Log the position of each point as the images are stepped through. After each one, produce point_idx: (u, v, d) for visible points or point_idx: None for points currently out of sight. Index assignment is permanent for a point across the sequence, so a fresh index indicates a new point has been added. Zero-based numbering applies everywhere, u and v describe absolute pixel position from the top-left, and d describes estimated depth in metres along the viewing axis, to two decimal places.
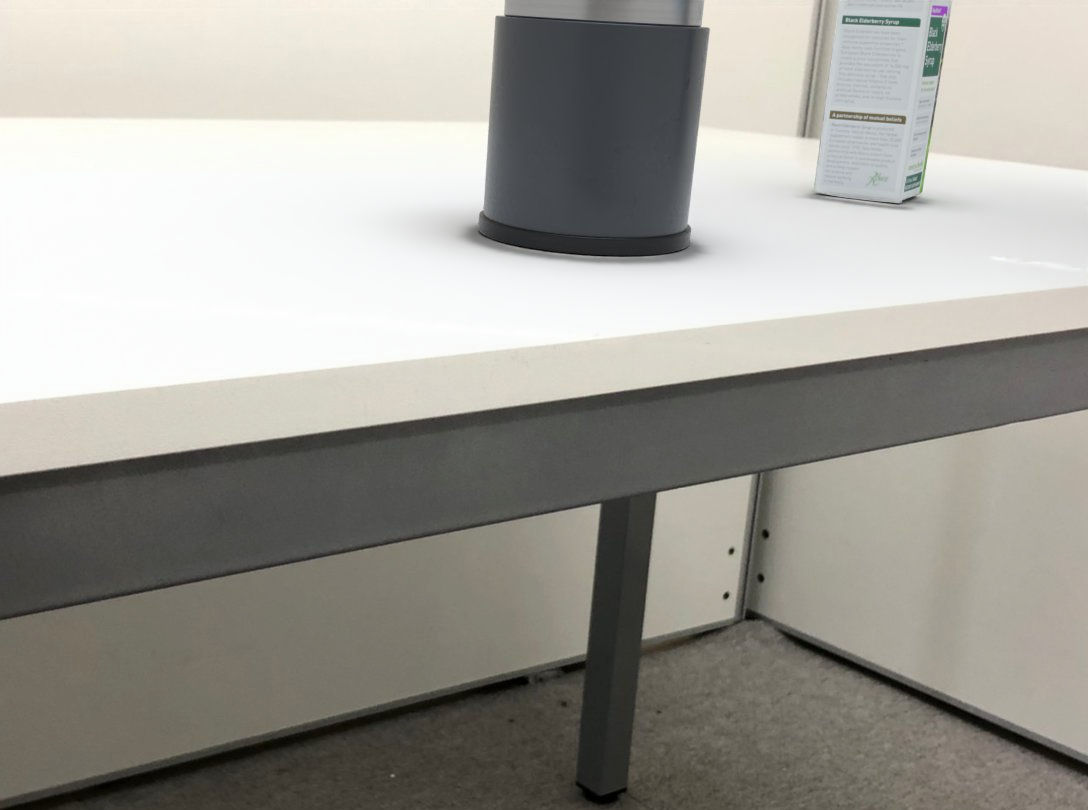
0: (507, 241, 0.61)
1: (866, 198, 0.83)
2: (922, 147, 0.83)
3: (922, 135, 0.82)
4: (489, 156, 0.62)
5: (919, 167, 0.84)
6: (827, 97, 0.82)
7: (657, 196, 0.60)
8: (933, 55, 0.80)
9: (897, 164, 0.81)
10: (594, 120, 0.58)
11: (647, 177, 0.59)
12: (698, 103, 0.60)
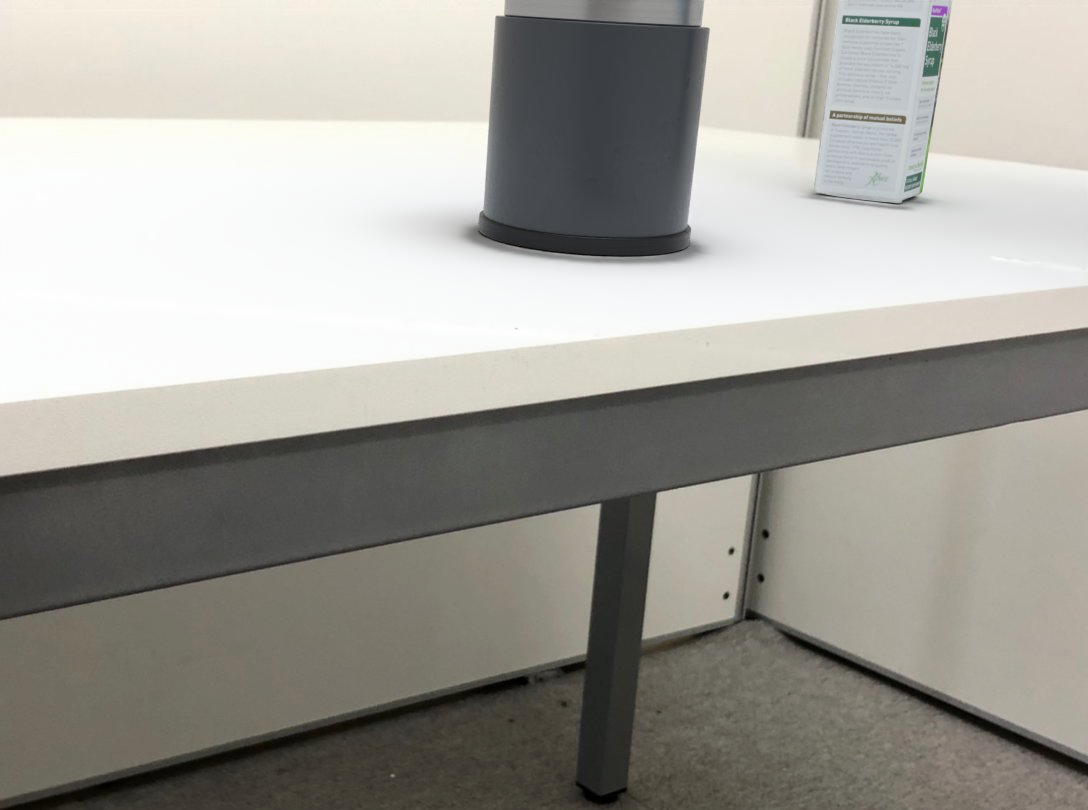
0: (507, 241, 0.61)
1: (866, 198, 0.83)
2: (922, 147, 0.83)
3: (922, 135, 0.82)
4: (489, 156, 0.62)
5: (919, 167, 0.84)
6: (827, 97, 0.82)
7: (657, 196, 0.60)
8: (933, 55, 0.80)
9: (897, 164, 0.81)
10: (594, 120, 0.58)
11: (647, 177, 0.59)
12: (698, 103, 0.60)
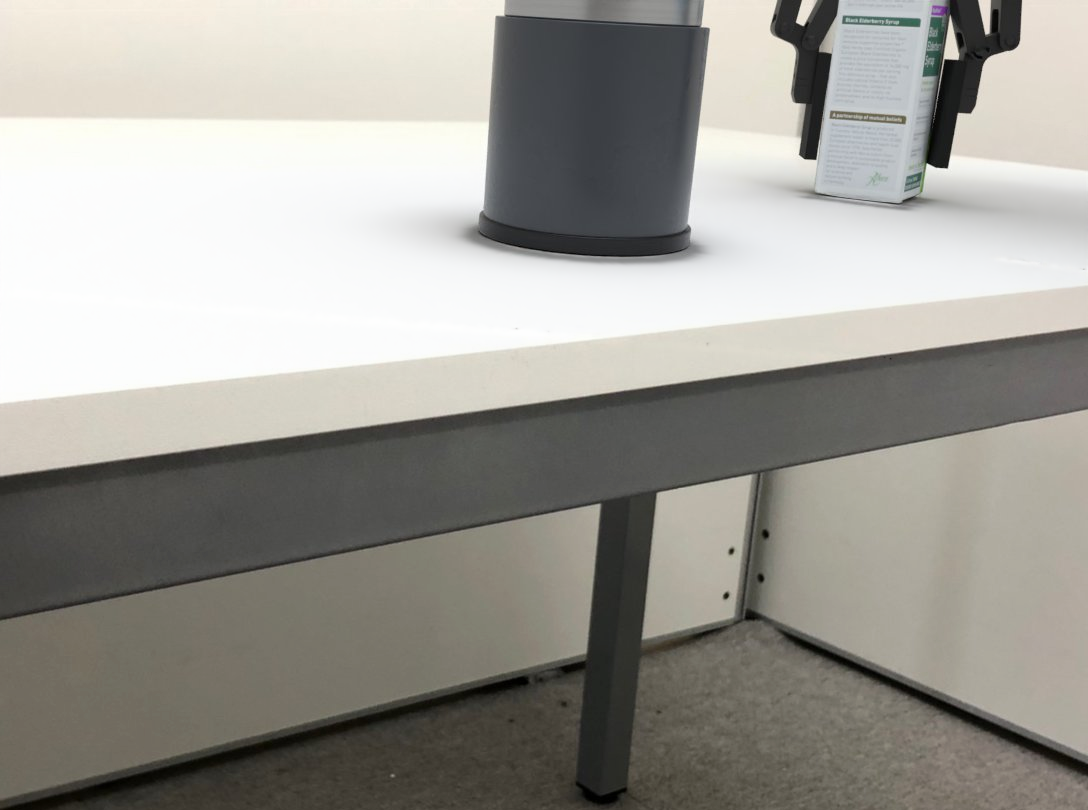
0: (507, 241, 0.61)
1: (866, 198, 0.83)
2: (922, 147, 0.83)
3: (922, 135, 0.82)
4: (489, 156, 0.62)
5: (919, 167, 0.84)
6: (827, 97, 0.82)
7: (657, 196, 0.60)
8: (933, 55, 0.80)
9: (897, 164, 0.81)
10: (594, 120, 0.58)
11: (647, 177, 0.59)
12: (698, 103, 0.60)
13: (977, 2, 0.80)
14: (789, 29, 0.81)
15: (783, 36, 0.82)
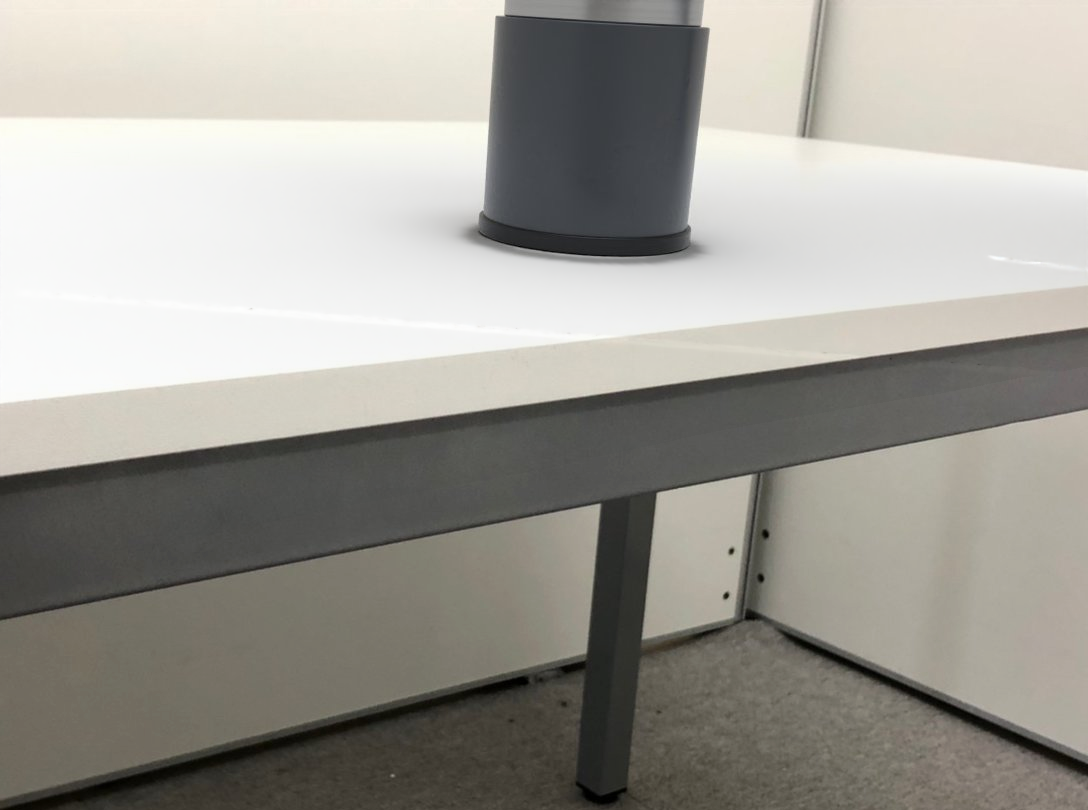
0: (507, 241, 0.61)
1: None
2: None
3: None
4: (489, 156, 0.62)
5: None
6: None
7: (657, 196, 0.60)
8: None
9: None
10: (594, 120, 0.58)
11: (647, 177, 0.59)
12: (698, 103, 0.60)
13: None
14: None
15: None
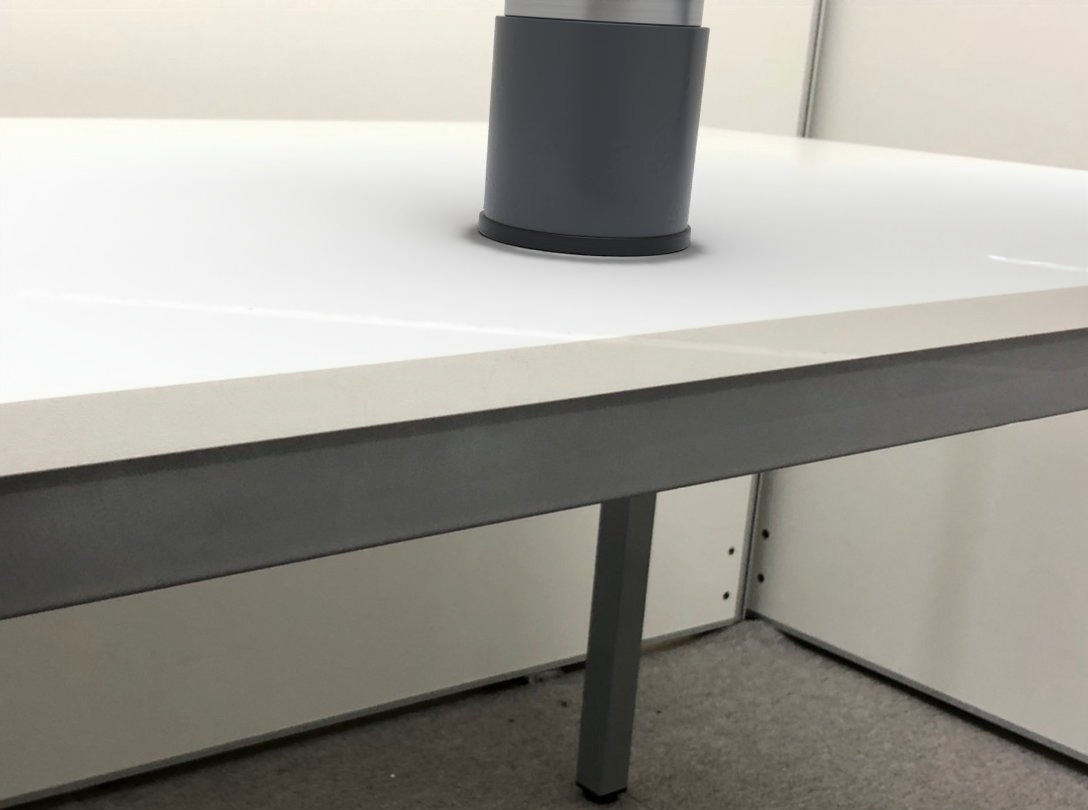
0: (507, 241, 0.61)
1: None
2: None
3: None
4: (489, 156, 0.62)
5: None
6: None
7: (657, 196, 0.60)
8: None
9: None
10: (594, 120, 0.58)
11: (647, 177, 0.59)
12: (698, 103, 0.60)
13: None
14: None
15: None
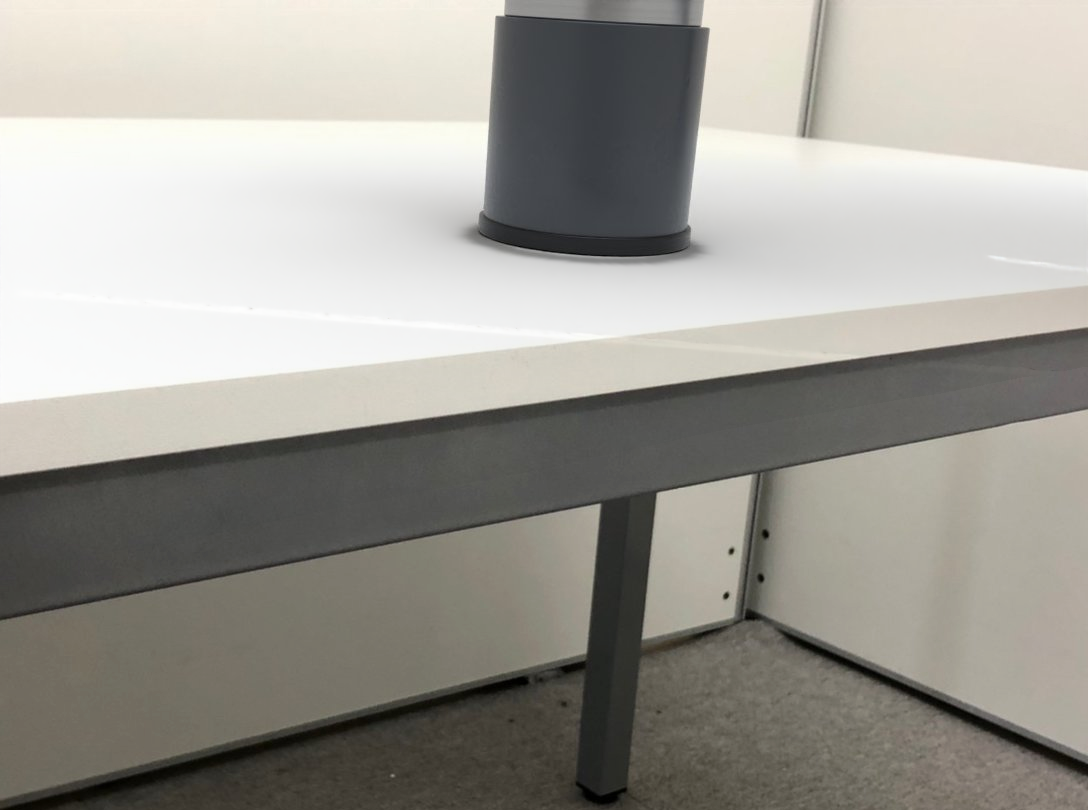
0: (507, 241, 0.61)
1: None
2: None
3: None
4: (489, 156, 0.62)
5: None
6: None
7: (657, 196, 0.60)
8: None
9: None
10: (594, 120, 0.58)
11: (647, 177, 0.59)
12: (698, 103, 0.60)
13: None
14: None
15: None
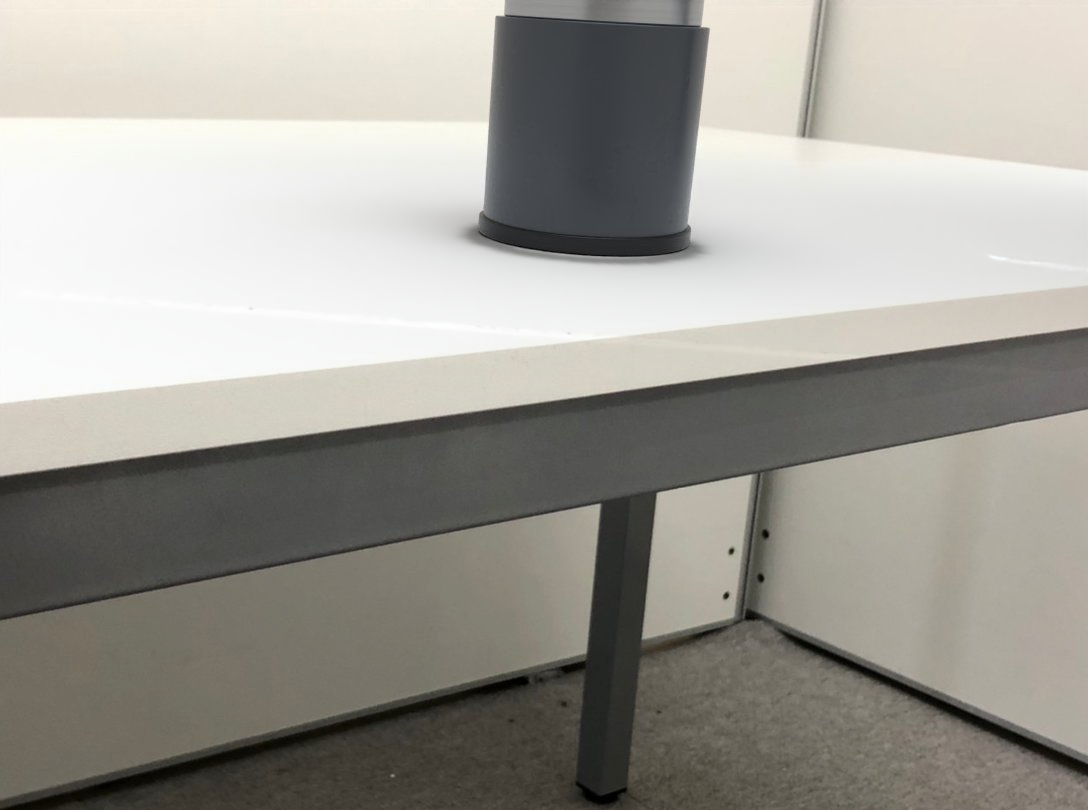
0: (507, 241, 0.61)
1: None
2: None
3: None
4: (489, 156, 0.62)
5: None
6: None
7: (657, 196, 0.60)
8: None
9: None
10: (594, 120, 0.58)
11: (647, 177, 0.59)
12: (698, 103, 0.60)
13: None
14: None
15: None
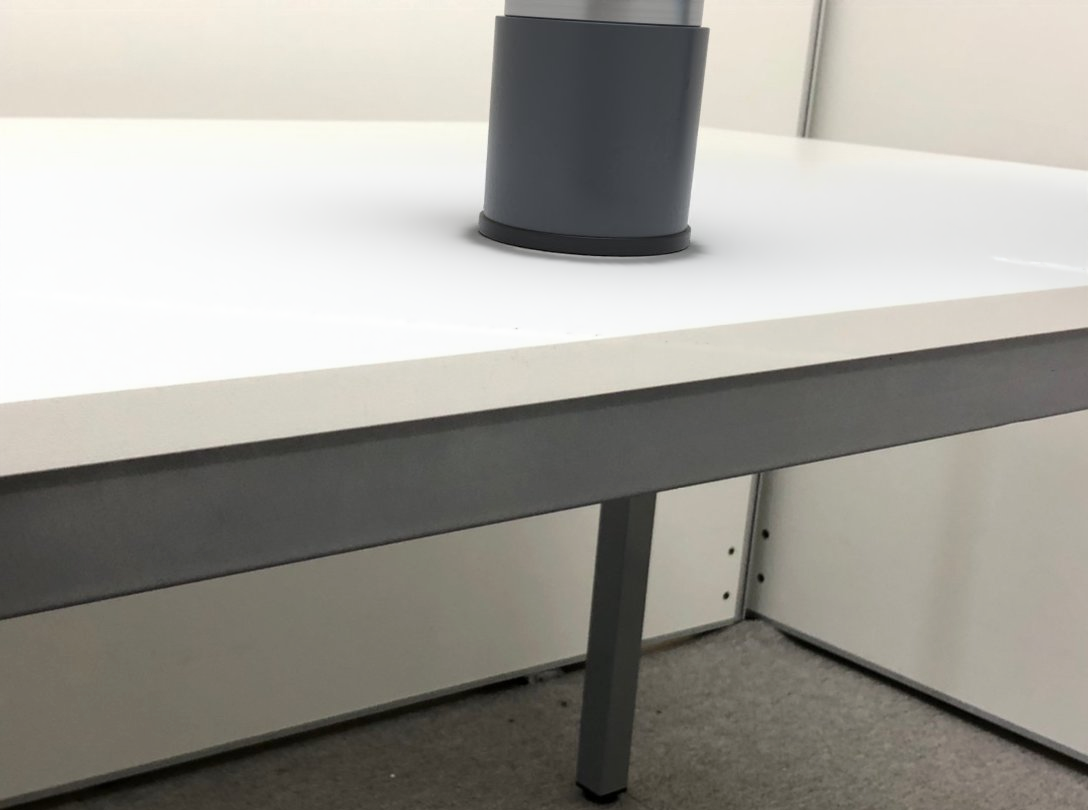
0: (507, 241, 0.61)
1: None
2: None
3: None
4: (489, 156, 0.62)
5: None
6: None
7: (657, 196, 0.60)
8: None
9: None
10: (594, 120, 0.58)
11: (647, 177, 0.59)
12: (698, 103, 0.60)
13: None
14: None
15: None
